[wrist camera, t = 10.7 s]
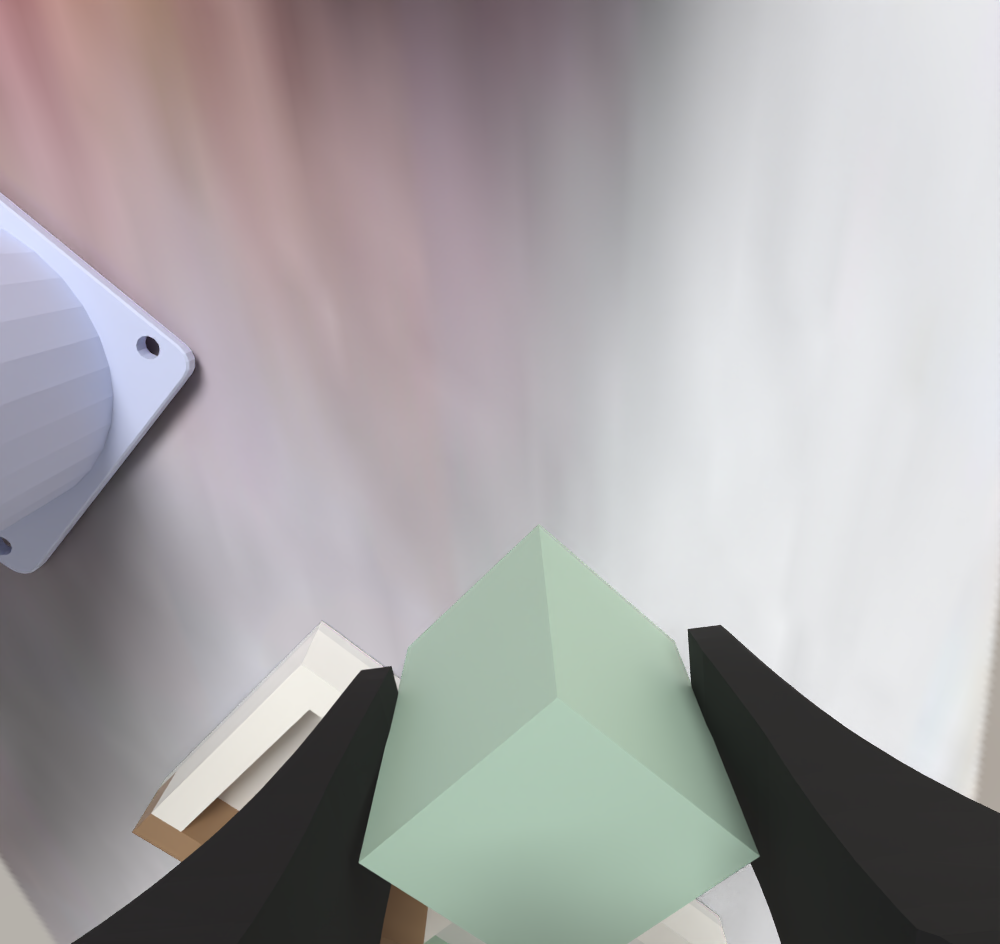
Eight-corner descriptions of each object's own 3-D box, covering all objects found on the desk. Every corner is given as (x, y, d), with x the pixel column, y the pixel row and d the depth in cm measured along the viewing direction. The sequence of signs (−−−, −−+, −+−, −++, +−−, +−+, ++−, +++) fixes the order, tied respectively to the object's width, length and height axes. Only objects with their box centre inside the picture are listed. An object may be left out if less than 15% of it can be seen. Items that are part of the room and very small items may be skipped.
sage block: (408, 647, 14) (359, 863, 9) (538, 524, 13) (557, 697, 8) (542, 748, 15) (558, 989, 10) (673, 641, 14) (759, 856, 9)
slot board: (164, 779, 20) (131, 832, 19) (321, 620, 18) (301, 664, 16) (552, 1021, 24) (555, 1084, 23) (719, 915, 22) (737, 976, 20)
